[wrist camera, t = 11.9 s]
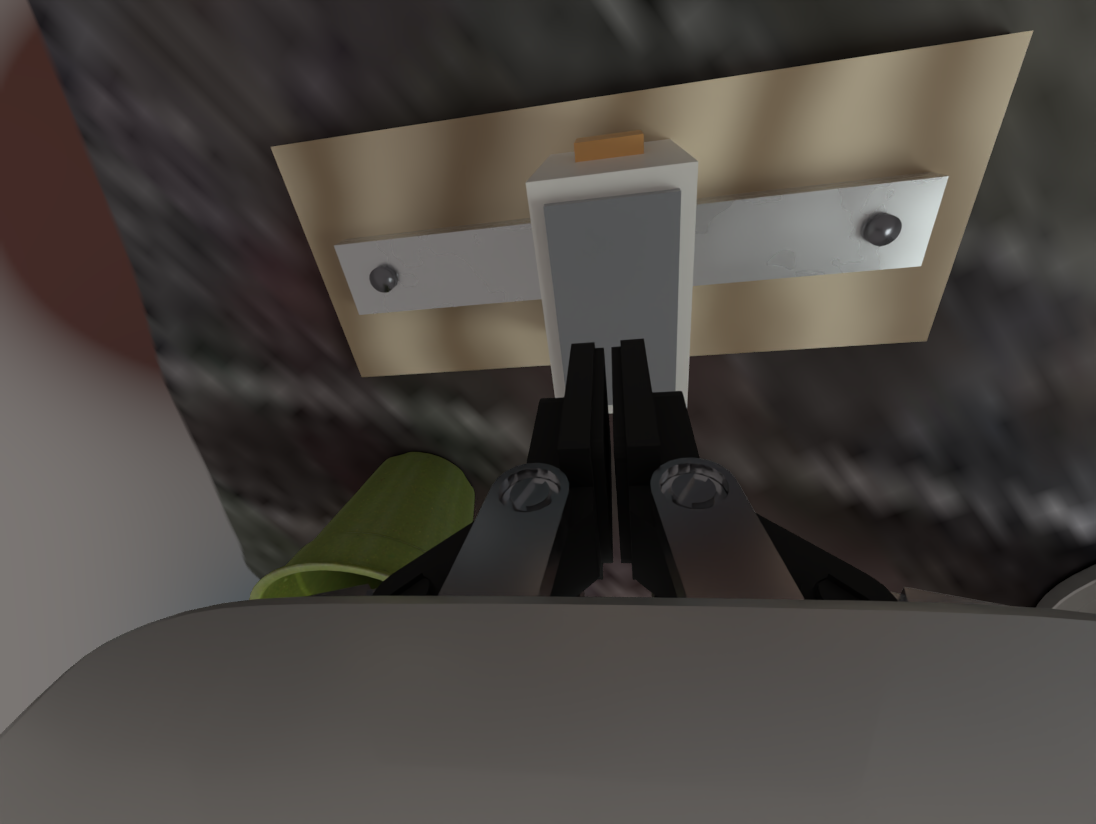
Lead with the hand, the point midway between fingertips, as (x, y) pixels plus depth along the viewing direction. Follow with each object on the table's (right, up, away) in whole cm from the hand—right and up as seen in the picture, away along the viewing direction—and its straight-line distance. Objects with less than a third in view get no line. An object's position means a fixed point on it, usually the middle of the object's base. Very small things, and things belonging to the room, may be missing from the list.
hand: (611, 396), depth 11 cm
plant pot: (-10, -6, +23) cm, 26 cm away
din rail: (+2, +8, +12) cm, 14 cm away
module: (+2, +7, +11) cm, 13 cm away
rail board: (+2, +8, +12) cm, 14 cm away
